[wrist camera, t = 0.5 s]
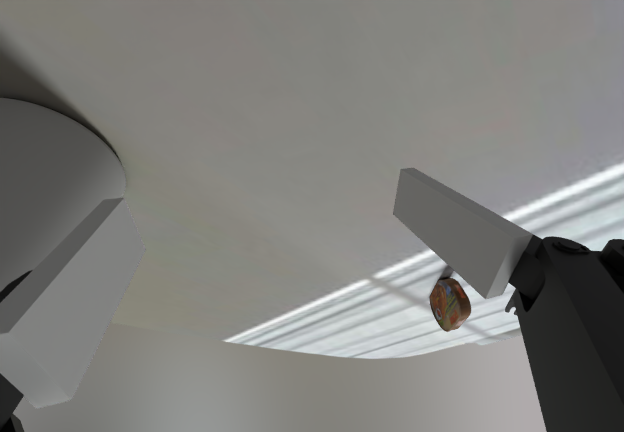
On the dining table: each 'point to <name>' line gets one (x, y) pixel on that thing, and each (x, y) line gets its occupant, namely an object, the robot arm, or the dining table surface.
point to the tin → (449, 304)
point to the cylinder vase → (47, 182)
